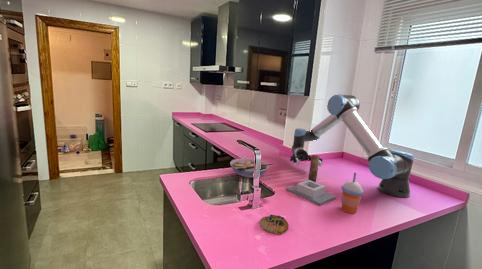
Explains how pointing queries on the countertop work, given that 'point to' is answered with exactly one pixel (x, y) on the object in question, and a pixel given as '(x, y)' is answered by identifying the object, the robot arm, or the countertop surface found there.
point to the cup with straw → (351, 195)
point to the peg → (313, 168)
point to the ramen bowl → (247, 167)
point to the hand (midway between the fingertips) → (309, 164)
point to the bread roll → (274, 224)
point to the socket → (311, 192)
